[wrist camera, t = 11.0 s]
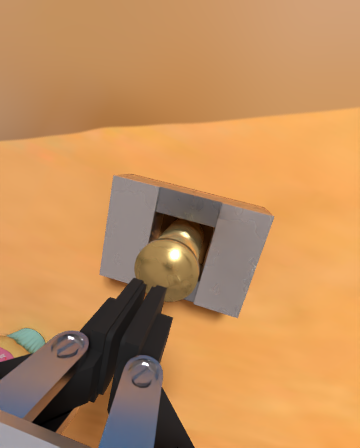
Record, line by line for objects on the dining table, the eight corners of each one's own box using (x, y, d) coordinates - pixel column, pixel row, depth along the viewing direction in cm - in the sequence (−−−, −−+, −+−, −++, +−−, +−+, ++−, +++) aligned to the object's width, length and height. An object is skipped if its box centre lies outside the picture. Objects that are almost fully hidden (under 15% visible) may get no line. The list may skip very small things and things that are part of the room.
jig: (264, 207, 22) (274, 216, 18) (234, 293, 25) (237, 318, 20) (132, 174, 23) (113, 175, 19) (118, 258, 26) (99, 274, 22)
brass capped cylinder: (211, 221, 23) (205, 252, 15) (200, 260, 24) (189, 309, 16) (169, 210, 24) (140, 233, 15) (161, 248, 25) (129, 290, 16)
